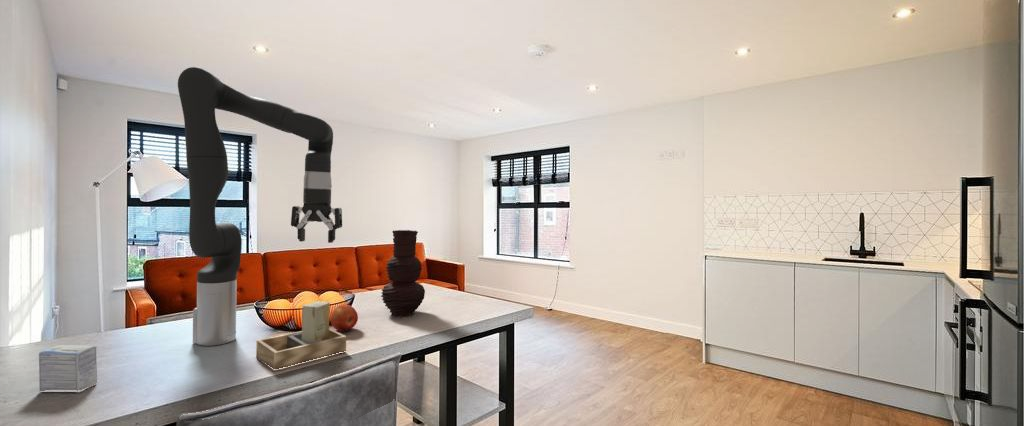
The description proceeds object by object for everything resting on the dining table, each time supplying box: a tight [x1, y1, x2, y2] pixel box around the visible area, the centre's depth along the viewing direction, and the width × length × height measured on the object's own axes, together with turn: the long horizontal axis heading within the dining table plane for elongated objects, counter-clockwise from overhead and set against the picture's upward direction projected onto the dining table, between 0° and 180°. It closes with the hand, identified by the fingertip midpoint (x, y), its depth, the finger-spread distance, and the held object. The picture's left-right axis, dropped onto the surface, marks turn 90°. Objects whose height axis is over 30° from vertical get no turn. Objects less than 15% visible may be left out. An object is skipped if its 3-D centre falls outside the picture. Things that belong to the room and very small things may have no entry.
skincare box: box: [301, 300, 331, 344], centre depth 117 cm, size 6×4×12 cm
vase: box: [380, 229, 426, 318], centre depth 156 cm, size 15×15×30 cm
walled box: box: [255, 327, 347, 369], centre depth 114 cm, size 18×12×4 cm, turn 139°
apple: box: [329, 304, 359, 332], centre depth 135 cm, size 8×8×8 cm
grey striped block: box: [38, 344, 98, 392], centre depth 91 cm, size 8×4×9 cm, turn 92°
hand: (316, 241), depth 129 cm, fingers open, 8 cm apart
